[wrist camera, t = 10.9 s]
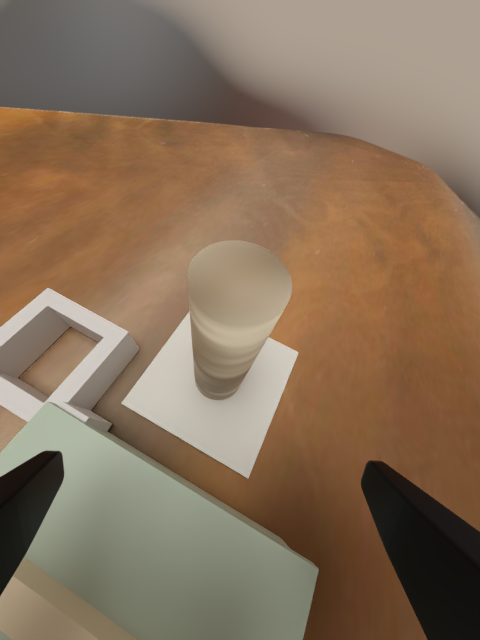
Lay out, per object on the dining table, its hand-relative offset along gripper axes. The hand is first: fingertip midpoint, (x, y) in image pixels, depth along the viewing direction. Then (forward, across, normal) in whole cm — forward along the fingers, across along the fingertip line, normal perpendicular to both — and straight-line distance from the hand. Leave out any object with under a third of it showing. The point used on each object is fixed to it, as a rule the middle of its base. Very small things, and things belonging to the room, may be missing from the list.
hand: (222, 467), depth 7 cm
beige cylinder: (+13, 0, +4) cm, 13 cm away
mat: (+13, 0, +4) cm, 14 cm away
